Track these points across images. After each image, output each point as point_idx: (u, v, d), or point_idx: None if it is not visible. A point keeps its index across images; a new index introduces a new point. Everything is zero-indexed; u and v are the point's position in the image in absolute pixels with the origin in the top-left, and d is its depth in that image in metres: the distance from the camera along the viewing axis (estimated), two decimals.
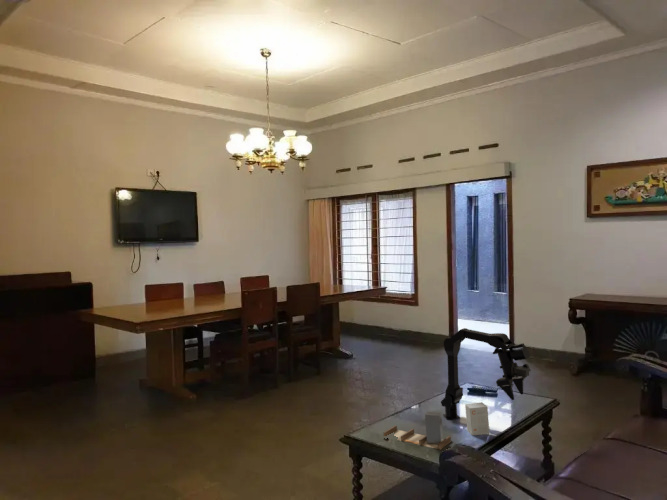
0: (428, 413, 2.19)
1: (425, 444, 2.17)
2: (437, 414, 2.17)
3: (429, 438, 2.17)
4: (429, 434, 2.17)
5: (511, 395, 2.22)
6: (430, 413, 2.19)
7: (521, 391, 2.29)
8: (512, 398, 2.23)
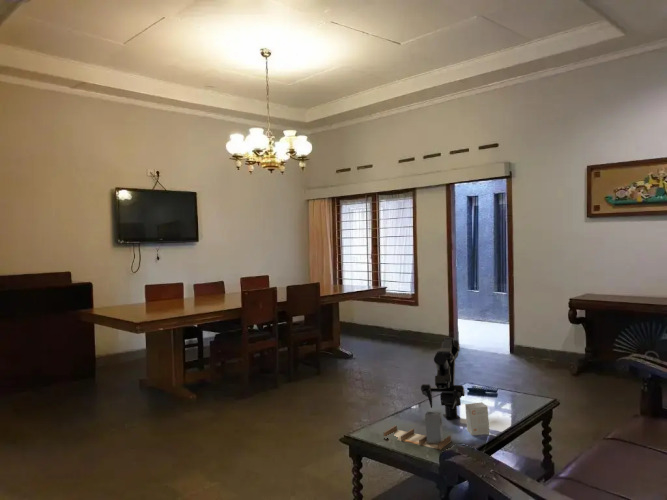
0: (428, 413, 2.19)
1: (425, 444, 2.17)
2: (437, 414, 2.17)
3: (429, 438, 2.17)
4: (429, 434, 2.17)
5: None
6: (430, 413, 2.19)
7: (452, 405, 2.24)
8: None
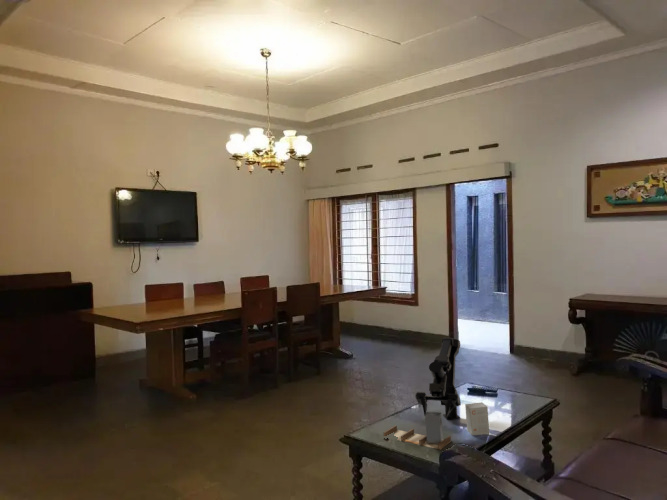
0: (428, 413, 2.19)
1: (425, 444, 2.17)
2: (437, 414, 2.17)
3: (429, 438, 2.17)
4: (429, 434, 2.17)
5: (423, 410, 2.25)
6: (430, 413, 2.19)
7: None
8: (424, 414, 2.24)
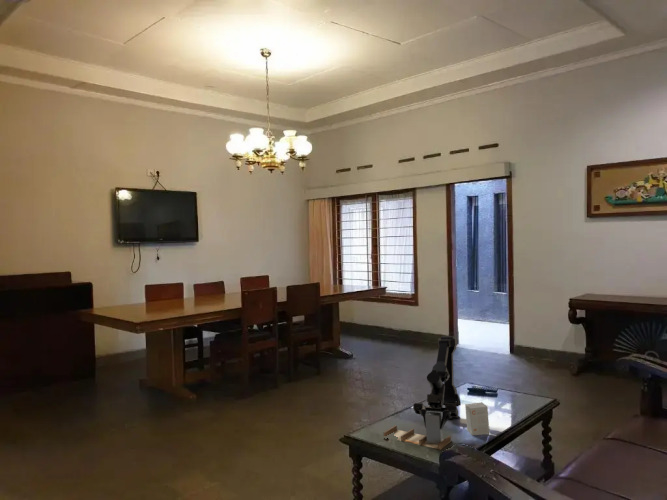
0: (428, 413, 2.19)
1: (425, 444, 2.17)
2: (437, 414, 2.17)
3: (429, 438, 2.17)
4: (429, 434, 2.17)
5: (424, 422, 2.20)
6: (430, 413, 2.19)
7: None
8: (425, 426, 2.19)
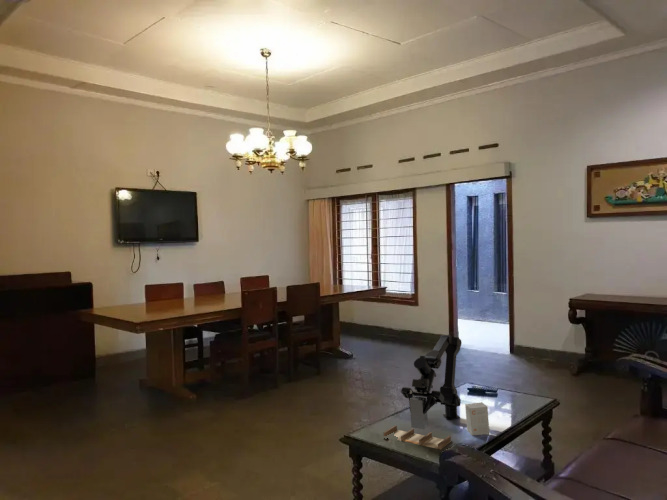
0: (413, 397, 2.23)
1: (425, 444, 2.17)
2: (421, 399, 2.21)
3: (413, 422, 2.22)
4: (413, 418, 2.22)
5: None
6: (415, 398, 2.23)
7: None
8: None
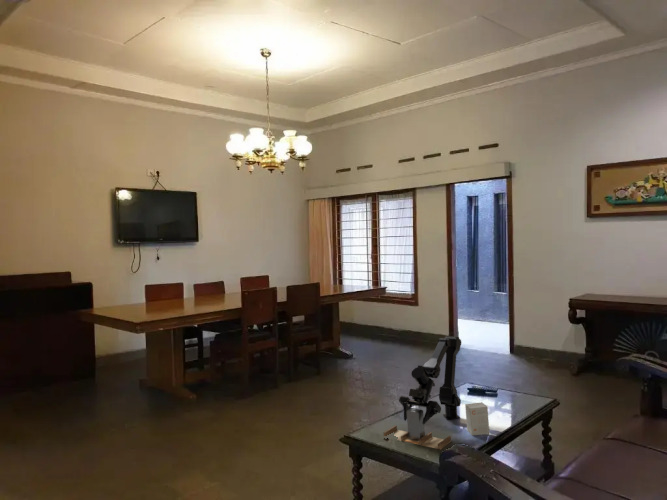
0: (410, 409, 2.25)
1: (425, 444, 2.17)
2: (418, 411, 2.22)
3: (410, 434, 2.24)
4: (410, 429, 2.23)
5: None
6: (412, 410, 2.25)
7: None
8: None
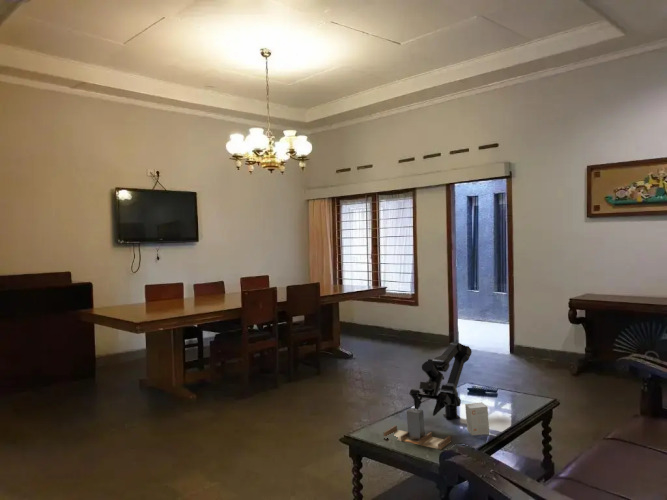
0: (410, 409, 2.25)
1: (425, 444, 2.17)
2: (418, 411, 2.22)
3: (410, 434, 2.24)
4: (410, 429, 2.23)
5: None
6: (412, 410, 2.25)
7: None
8: None
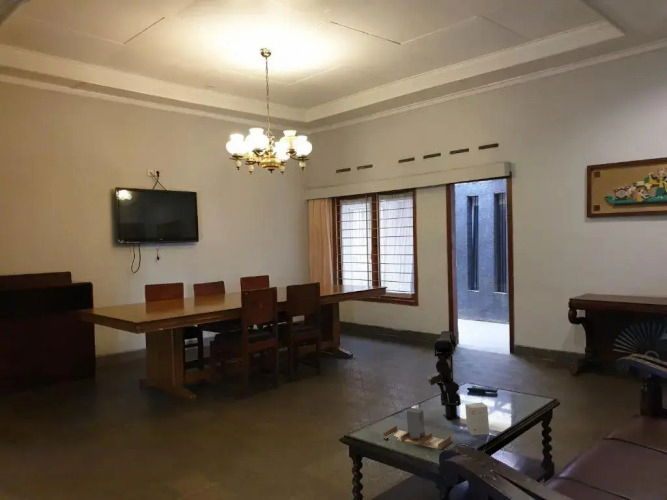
0: (410, 409, 2.25)
1: (425, 444, 2.17)
2: (418, 411, 2.22)
3: (410, 434, 2.24)
4: (410, 429, 2.23)
5: None
6: (412, 410, 2.25)
7: None
8: None
